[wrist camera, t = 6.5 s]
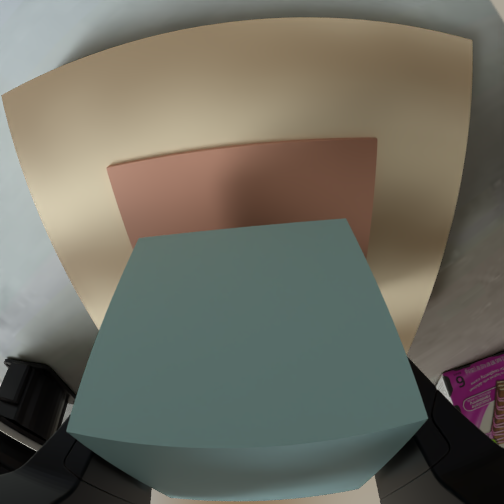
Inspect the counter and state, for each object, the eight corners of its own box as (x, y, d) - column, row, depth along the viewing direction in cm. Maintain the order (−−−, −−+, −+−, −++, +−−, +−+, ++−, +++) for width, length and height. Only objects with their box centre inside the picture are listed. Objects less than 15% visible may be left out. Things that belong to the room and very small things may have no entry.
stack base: (391, 318, 18) (406, 359, 16) (140, 339, 19) (129, 380, 16) (429, 36, 9) (475, 40, 6) (44, 81, 10) (-3, 96, 7)
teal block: (332, 347, 11) (358, 488, 7) (186, 358, 11) (170, 497, 7) (345, 218, 8) (428, 418, 4) (138, 238, 8) (65, 431, 4)
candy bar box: (523, 339, 22) (577, 468, 9) (505, 366, 25) (549, 484, 12) (439, 371, 23) (486, 531, 10) (426, 396, 26) (461, 536, 13)
